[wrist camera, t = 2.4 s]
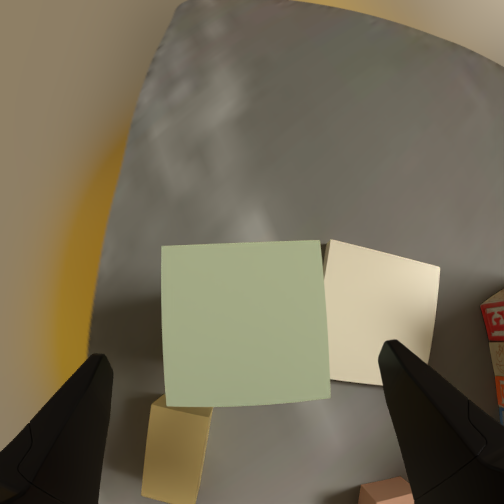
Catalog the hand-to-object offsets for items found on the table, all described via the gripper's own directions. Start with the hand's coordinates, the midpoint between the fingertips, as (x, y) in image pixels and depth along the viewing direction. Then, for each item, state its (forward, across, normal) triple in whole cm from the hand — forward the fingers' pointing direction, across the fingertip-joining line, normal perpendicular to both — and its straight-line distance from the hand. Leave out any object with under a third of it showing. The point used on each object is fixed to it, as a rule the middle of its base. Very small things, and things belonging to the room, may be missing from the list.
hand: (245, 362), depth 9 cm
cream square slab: (+7, -8, +6) cm, 12 cm away
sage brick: (+7, 0, +6) cm, 9 cm away
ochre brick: (+2, +4, +11) cm, 12 cm away
